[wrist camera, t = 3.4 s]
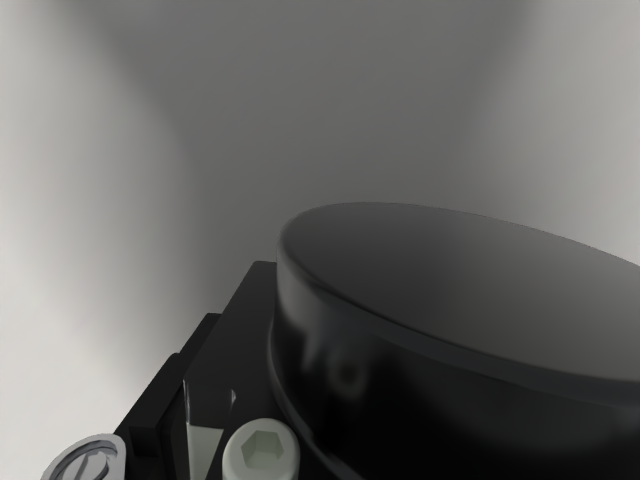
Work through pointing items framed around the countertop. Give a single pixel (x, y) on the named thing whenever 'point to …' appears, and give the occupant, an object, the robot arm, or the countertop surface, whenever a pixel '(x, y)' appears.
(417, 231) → the pneumatic valve
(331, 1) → the countertop surface
